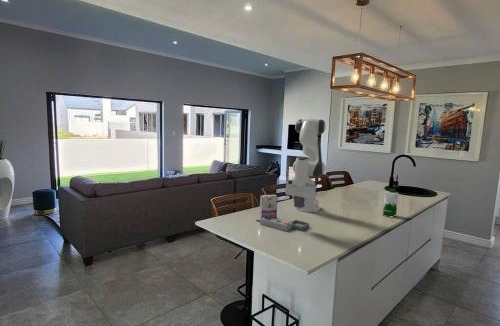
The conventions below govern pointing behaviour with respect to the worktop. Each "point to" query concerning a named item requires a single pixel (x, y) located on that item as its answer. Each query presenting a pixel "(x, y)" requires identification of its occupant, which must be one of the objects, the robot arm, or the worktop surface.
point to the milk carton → (390, 203)
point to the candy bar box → (268, 206)
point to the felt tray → (299, 225)
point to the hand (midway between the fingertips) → (299, 203)
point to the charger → (299, 202)
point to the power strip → (275, 223)
